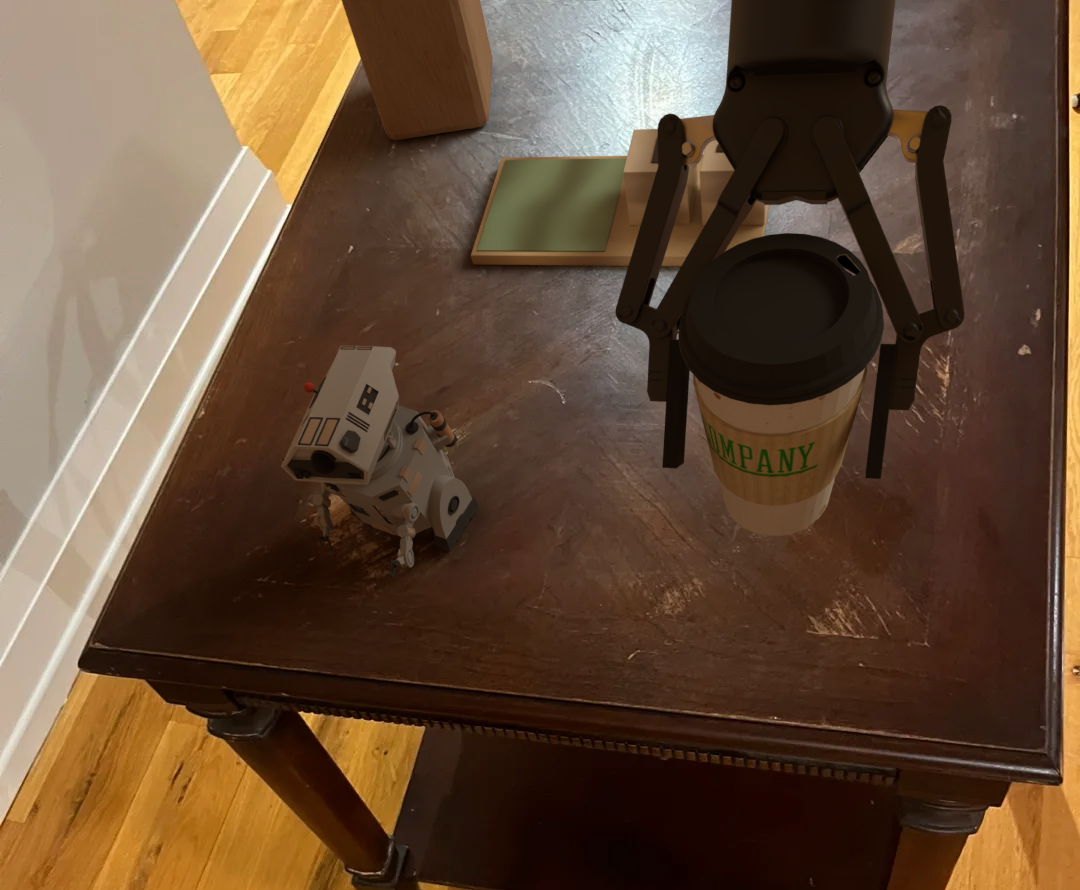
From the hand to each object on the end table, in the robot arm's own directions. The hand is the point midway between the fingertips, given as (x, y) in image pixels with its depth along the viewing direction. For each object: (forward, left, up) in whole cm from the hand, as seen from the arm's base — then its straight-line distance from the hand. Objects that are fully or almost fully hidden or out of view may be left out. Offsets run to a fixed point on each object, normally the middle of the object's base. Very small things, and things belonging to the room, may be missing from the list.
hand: (770, 470), depth 58 cm
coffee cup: (-1, -3, -6) cm, 7 cm away
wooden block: (+11, -64, -16) cm, 67 cm away
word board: (-1, -42, -16) cm, 45 cm away
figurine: (+23, -16, -16) cm, 32 cm away
